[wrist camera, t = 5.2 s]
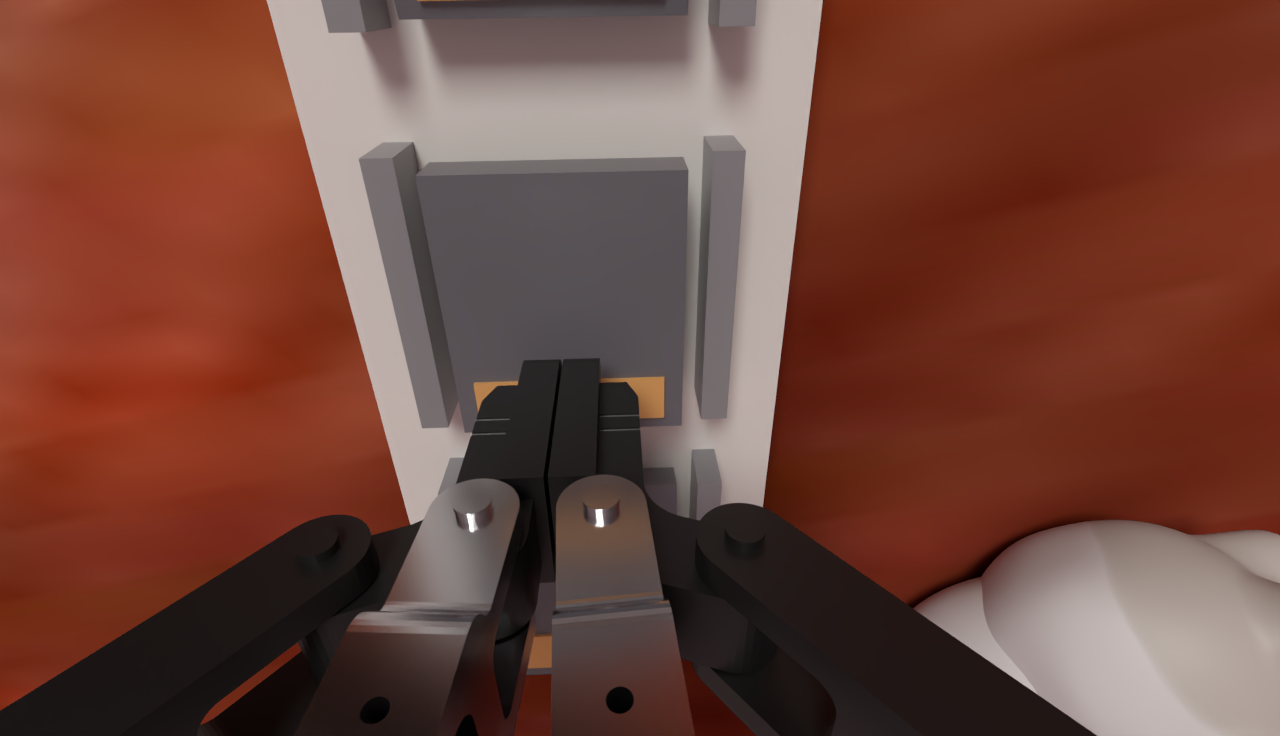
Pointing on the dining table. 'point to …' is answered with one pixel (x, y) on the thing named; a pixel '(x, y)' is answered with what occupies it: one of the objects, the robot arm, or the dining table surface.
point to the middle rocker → (561, 271)
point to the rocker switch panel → (551, 130)
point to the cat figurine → (1132, 626)
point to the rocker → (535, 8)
